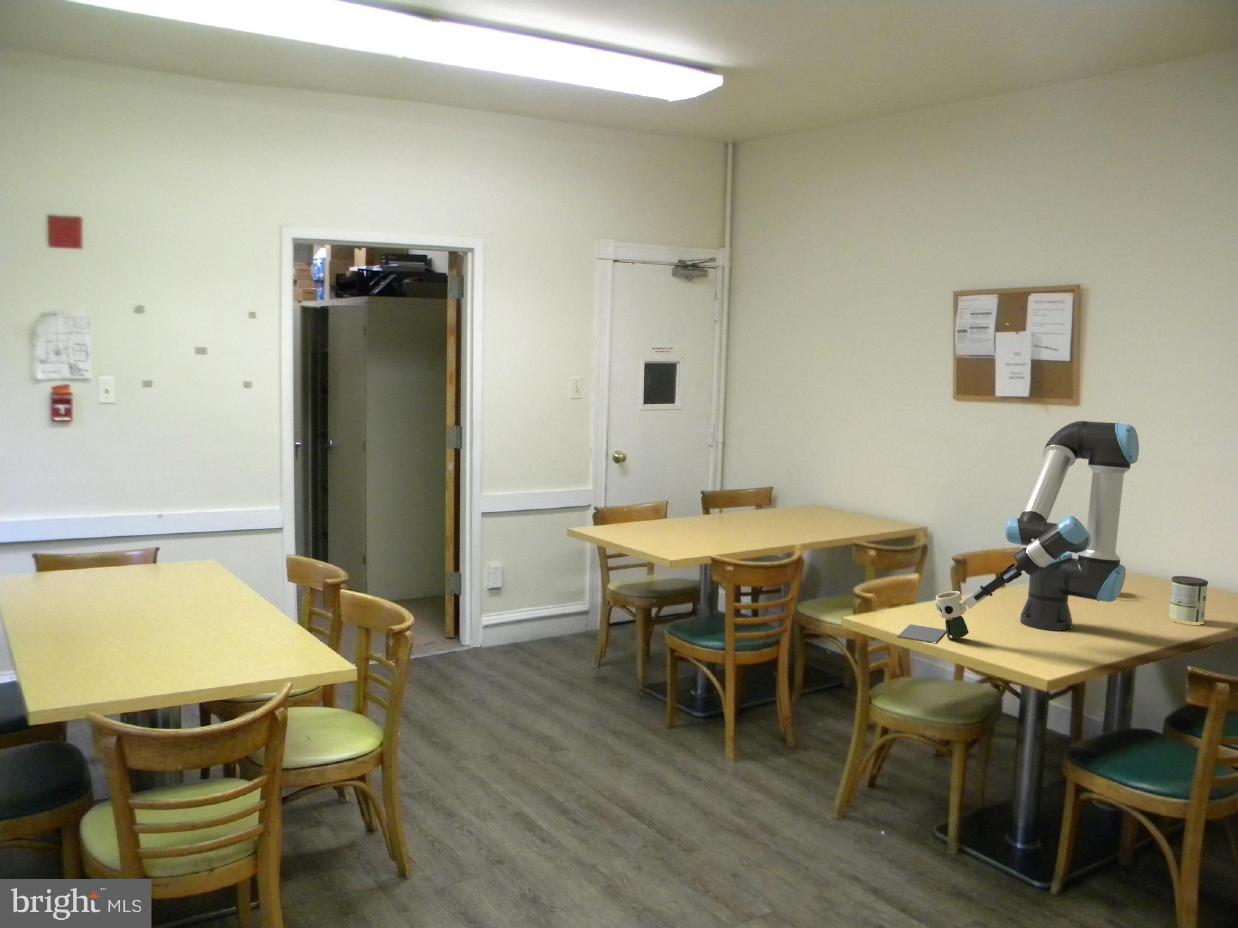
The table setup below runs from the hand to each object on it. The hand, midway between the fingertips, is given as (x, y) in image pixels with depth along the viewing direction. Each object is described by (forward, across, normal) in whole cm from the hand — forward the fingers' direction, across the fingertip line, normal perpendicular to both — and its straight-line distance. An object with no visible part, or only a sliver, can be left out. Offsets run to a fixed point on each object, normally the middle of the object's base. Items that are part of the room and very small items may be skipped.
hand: (967, 604), depth 294 cm
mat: (+17, 0, 0) cm, 17 cm away
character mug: (+9, -1, +6) cm, 11 cm away
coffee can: (-31, -74, +42) cm, 91 cm away
